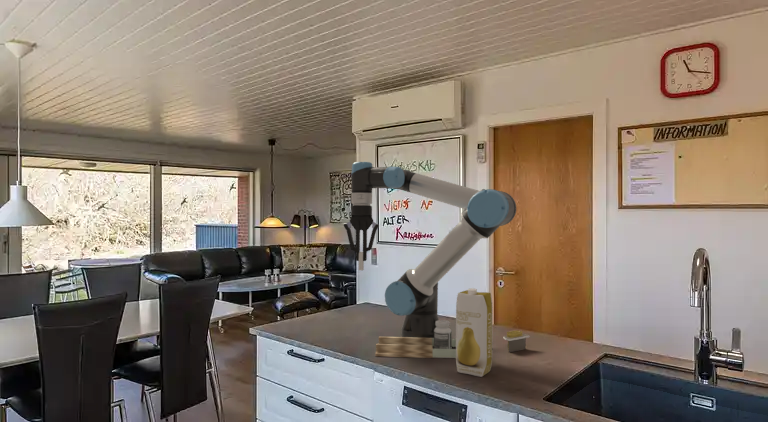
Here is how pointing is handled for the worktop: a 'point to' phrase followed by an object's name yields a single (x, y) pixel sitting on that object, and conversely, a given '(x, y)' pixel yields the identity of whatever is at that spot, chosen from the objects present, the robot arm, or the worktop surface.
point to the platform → (516, 340)
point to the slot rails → (404, 347)
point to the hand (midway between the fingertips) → (361, 269)
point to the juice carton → (474, 332)
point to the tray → (445, 351)
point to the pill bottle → (442, 335)
